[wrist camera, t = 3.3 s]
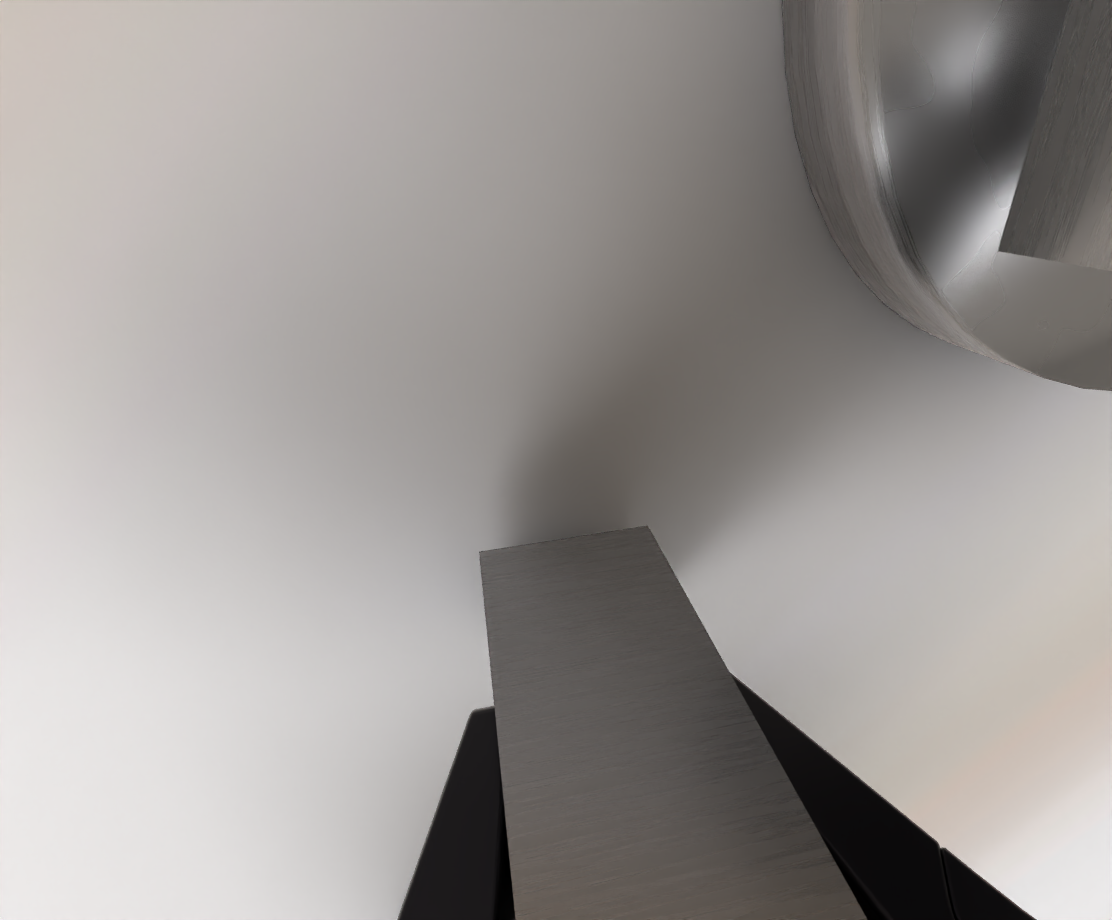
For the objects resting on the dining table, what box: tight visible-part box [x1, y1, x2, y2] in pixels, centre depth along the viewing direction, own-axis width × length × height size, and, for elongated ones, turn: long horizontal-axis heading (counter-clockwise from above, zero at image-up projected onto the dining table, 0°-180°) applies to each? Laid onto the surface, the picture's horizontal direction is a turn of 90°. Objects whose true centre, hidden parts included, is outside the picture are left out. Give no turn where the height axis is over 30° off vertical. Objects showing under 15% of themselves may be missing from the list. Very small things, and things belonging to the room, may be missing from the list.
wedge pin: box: [479, 526, 867, 920], centre depth 7 cm, size 4×4×9 cm
